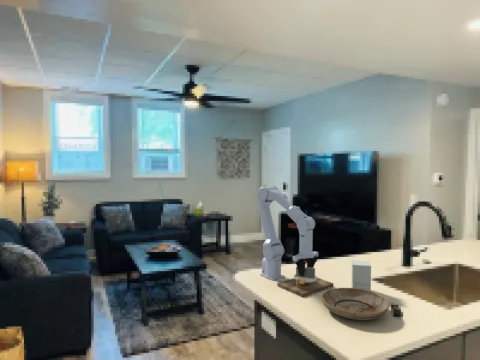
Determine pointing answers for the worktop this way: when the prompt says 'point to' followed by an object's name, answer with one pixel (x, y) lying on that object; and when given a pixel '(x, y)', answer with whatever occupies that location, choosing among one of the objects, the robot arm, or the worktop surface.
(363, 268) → the supplement box
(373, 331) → the worktop surface
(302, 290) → the walnut base
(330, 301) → the ceramic bowl
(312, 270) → the flange disc
